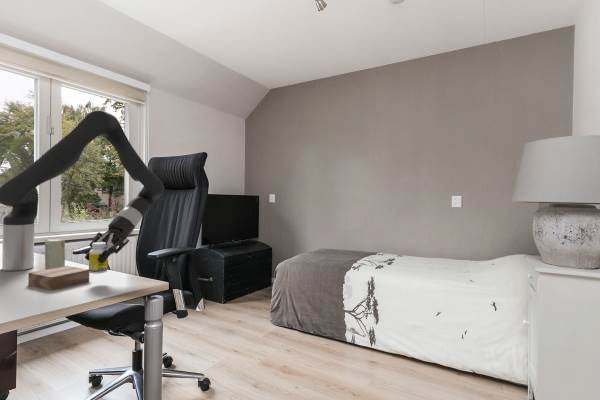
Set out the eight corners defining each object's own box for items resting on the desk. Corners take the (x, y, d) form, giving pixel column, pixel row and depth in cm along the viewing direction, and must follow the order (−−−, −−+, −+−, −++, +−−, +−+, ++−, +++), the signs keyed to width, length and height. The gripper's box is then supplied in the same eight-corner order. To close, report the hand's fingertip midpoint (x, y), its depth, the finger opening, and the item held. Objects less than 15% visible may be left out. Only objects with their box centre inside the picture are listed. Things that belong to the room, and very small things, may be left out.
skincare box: (65, 272, 124) (65, 240, 124) (51, 274, 121) (52, 241, 120) (57, 269, 128) (58, 238, 128) (44, 272, 124) (44, 239, 124)
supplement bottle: (98, 274, 108) (99, 244, 107) (84, 273, 109) (85, 243, 108) (111, 270, 113) (112, 242, 113) (97, 269, 114) (98, 241, 114)
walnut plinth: (28, 284, 107) (28, 272, 107) (66, 276, 119) (66, 265, 118) (51, 290, 103) (51, 277, 103) (89, 281, 114) (89, 269, 114)
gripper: (105, 213, 120) (70, 251, 109) (134, 216, 114) (101, 256, 104) (118, 226, 125) (86, 264, 114) (146, 230, 120) (115, 269, 109)
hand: (93, 260), depth 109 cm, fingers closed on supplement bottle, 5 cm apart
